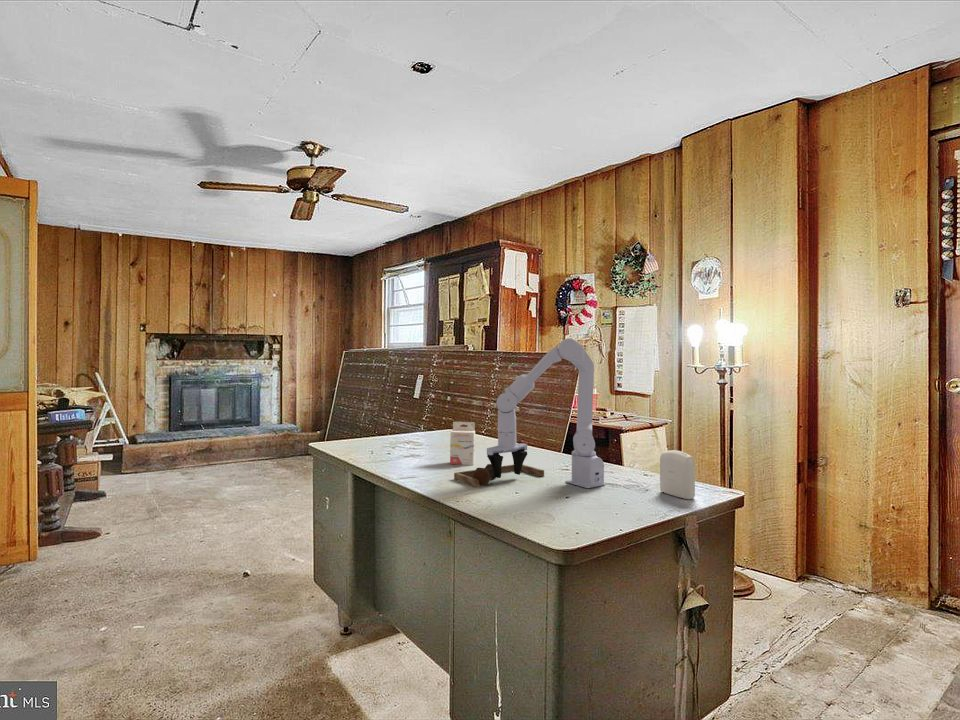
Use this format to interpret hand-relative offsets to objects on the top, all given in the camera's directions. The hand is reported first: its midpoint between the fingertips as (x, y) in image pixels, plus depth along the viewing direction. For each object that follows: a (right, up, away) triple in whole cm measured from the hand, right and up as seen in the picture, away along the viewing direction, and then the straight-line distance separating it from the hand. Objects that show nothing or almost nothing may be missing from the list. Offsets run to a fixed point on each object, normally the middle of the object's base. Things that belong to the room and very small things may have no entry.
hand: (507, 475), depth 164 cm
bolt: (-6, -2, +1) cm, 6 cm away
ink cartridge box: (-15, -2, +26) cm, 30 cm away
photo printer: (+46, -2, -17) cm, 49 cm away
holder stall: (-3, -1, +4) cm, 5 cm away
